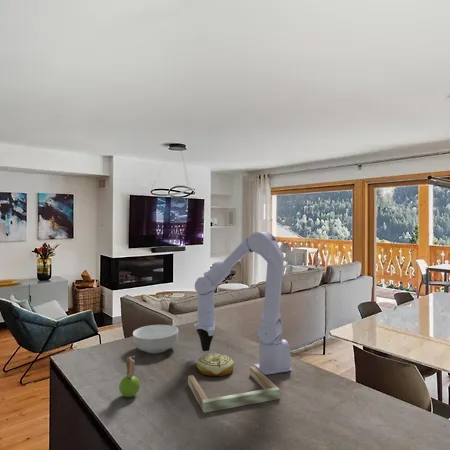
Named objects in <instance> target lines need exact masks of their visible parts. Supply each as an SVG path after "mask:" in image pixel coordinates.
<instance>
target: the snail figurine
mask: <svg viewBox="0 0 450 450" xmlns="http://www.w3.org/2000/svg"><path fill="white" fill-rule="evenodd" d="M135 357H136V355H133V356H128V357H126V359H125V364H126V376H124V377H123V378H122V379H121V380H120V383H119V388H118V389H119V393H120V394H121V395H122V396H123V397H125V398H131V397H132V398H133V397H134V396H136V395H137V394H138V392H139V390H140V388H141V383H140V380H139V378H138V377H137V376H135V375H134V374H135V363H136V362H135Z"/></svg>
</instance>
